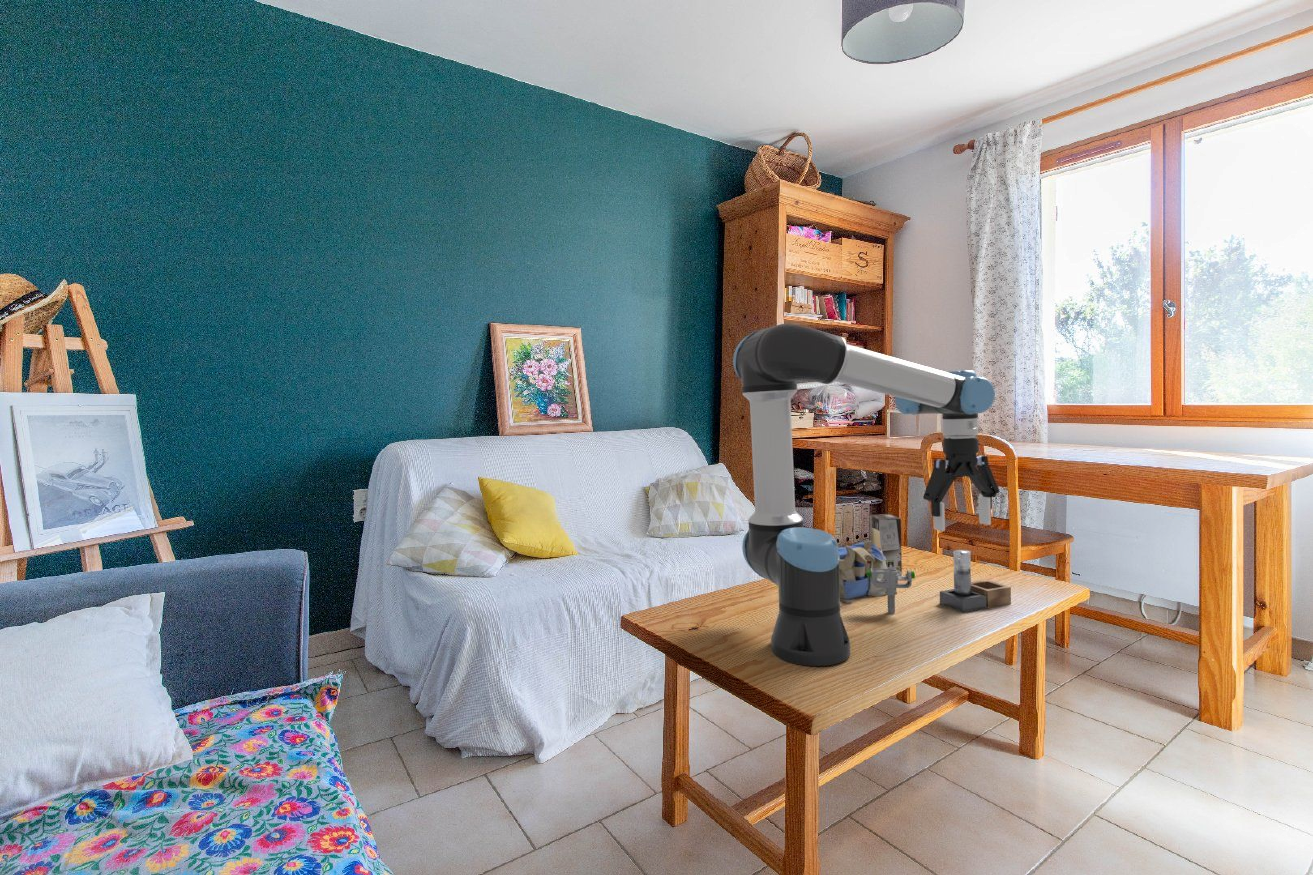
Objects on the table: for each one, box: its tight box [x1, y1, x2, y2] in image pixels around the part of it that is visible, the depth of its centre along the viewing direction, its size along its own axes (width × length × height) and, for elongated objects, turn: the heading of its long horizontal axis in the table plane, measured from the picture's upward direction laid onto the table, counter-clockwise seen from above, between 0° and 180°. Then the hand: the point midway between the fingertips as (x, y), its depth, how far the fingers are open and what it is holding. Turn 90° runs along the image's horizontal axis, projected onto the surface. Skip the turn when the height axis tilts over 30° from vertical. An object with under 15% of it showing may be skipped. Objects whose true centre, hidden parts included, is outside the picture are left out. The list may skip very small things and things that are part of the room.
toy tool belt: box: [838, 527, 887, 607], centre depth 161 cm, size 26×16×16 cm, turn 122°
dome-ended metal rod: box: [953, 549, 972, 598], centre depth 149 cm, size 4×4×13 cm
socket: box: [939, 588, 987, 613], centre depth 149 cm, size 7×7×3 cm
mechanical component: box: [867, 569, 916, 615], centre depth 146 cm, size 3×10×10 cm, turn 78°
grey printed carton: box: [869, 513, 903, 576], centre depth 180 cm, size 9×6×16 cm
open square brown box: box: [971, 579, 1012, 609], centre depth 151 cm, size 7×7×4 cm
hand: (962, 527), depth 148 cm, fingers open, 13 cm apart
